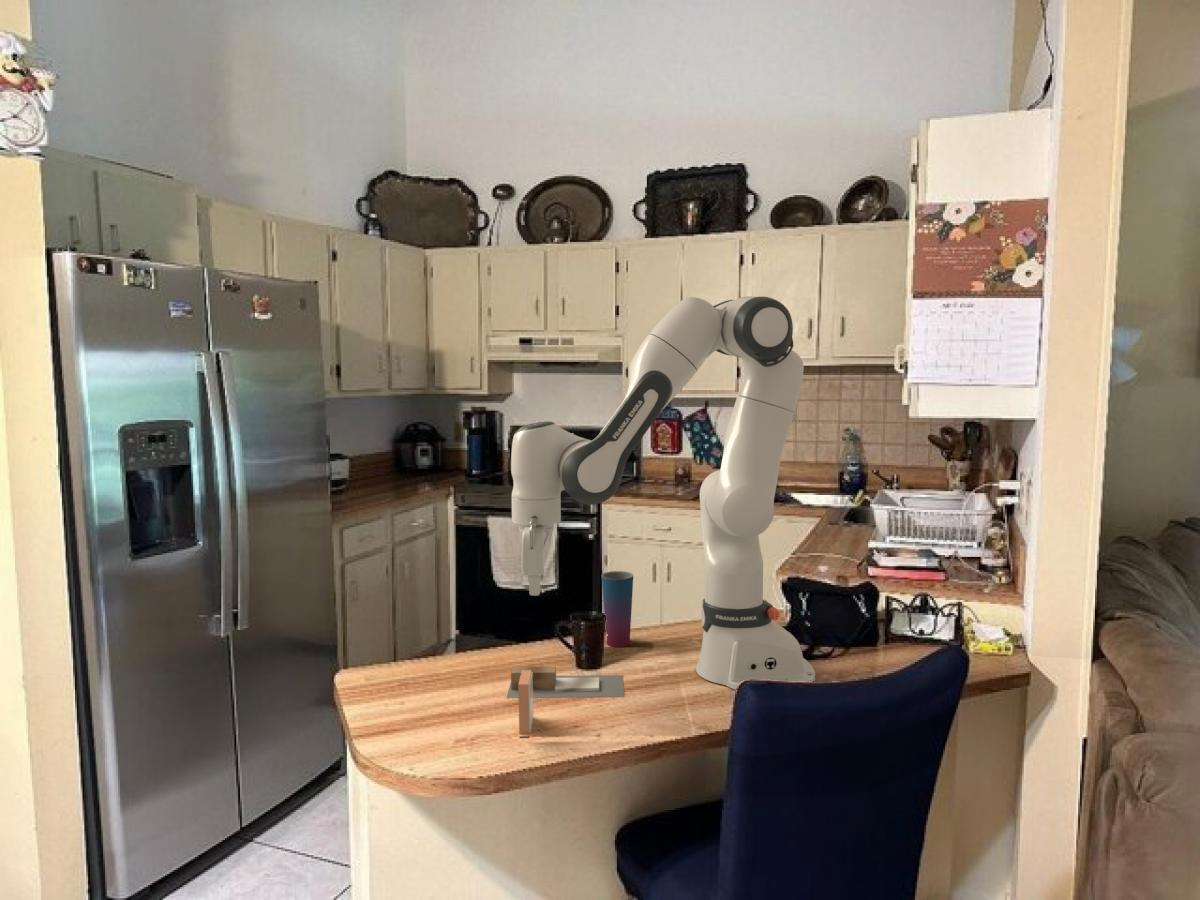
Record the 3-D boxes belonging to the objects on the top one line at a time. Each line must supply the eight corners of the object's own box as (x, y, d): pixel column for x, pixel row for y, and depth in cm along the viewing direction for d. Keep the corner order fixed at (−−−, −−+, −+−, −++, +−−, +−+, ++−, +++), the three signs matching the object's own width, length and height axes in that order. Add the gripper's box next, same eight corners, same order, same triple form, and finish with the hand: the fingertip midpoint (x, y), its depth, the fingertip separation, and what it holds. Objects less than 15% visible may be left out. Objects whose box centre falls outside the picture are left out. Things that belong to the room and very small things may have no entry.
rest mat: (622, 679, 155) (622, 675, 154) (624, 700, 145) (624, 696, 144) (512, 680, 155) (512, 676, 154) (506, 702, 145) (506, 697, 145)
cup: (634, 638, 177) (634, 571, 176) (632, 649, 171) (632, 579, 169) (603, 637, 178) (603, 570, 176) (600, 648, 171) (599, 579, 170)
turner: (510, 692, 147) (510, 675, 147) (513, 681, 152) (513, 664, 152) (599, 691, 147) (598, 674, 147) (599, 680, 152) (598, 664, 152)
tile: (533, 721, 137) (532, 670, 136) (530, 738, 131) (529, 684, 130) (523, 721, 137) (521, 670, 136) (519, 738, 131) (518, 684, 130)
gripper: (550, 523, 136) (550, 603, 137) (556, 502, 156) (557, 572, 158) (512, 523, 136) (513, 603, 137) (524, 502, 156) (524, 572, 158)
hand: (537, 587), depth 148 cm, fingers open, 8 cm apart
